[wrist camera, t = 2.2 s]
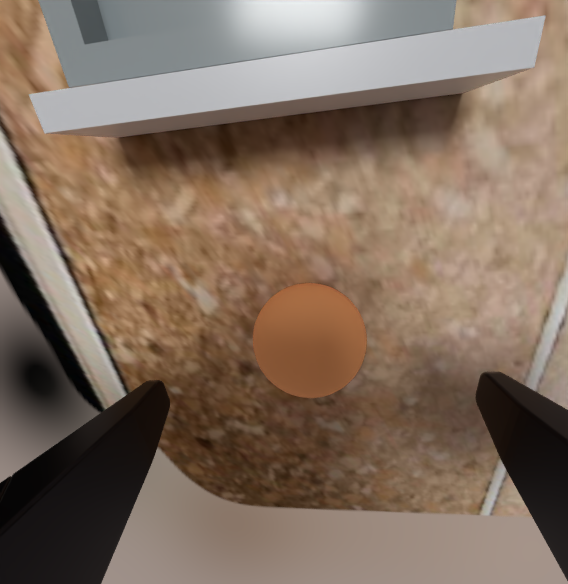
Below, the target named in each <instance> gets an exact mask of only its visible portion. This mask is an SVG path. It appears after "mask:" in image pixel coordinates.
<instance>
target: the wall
mask: <svg viewBox="0 0 568 584" xmlns="http://www.w3.org/2000/svg"><path fill="white" fill-rule="evenodd" d="M545 16H546V15H545ZM545 16H539V17H532V18H526V19H519V20H513V21H506V22H499V23H493V24H486V25H480V26H473V27H467V28H460V29H454V30H447V31H441V32H434V33H427V34H421V35H414V36H408V37H401V38H395V39H388V40H382V41H375V42H369V43H362V44H355V45H349V46H342V47H336V48H329V49H323V50H316V51H310V52H303V53H297V54H290V55H283V56H277V57H270V58H264V59H257V60H251V61H244V62H238V63H231V64H225V65H218V66H211V67H205V68H198V69H192V70H185V71H179V72H172V73H166V74H159V75H153V76H146V77H139V78H133V79H126V80H120V81H113V82H107V83H100V84H94V85H87V86H81V87H74V88H67V89H61V90H54V91H48V92H41V93H35V94H29V96H30V99H31V101H32V104H33V106H34V109H35V111H36V113H37V116H38V118H39V121H40V123H41V126H42V128H43V131H44V133H48V134H64V135H81V136H98V137H115V138H118V137H126V136H134V135H141V134H149V133H157V132H165V131H173V130H180V129H188V128H196V127H204V126H211V125H219V124H227V123H235V122H242V121H250V120H258V119H266V118H273V117H281V116H289V115H297V114H305V113H312V112H320V111H328V110H336V109H343V108H351V107H359V106H367V105H374V104H382V103H390V102H398V101H405V100H413V99H421V98H429V97H437V96H444V95H452V94H460V93H465V92H468V91H470V90H473V89H476V88H479V87H481V86H484V85H487V84H490V83H492V82H495V81H498V80H501V79H503V78H506V77H509V76H512V75H514V74H517V73H520V72H523V71H525V70H528V69H531V68H534V66H535V61H536V57H537V52H538V48H539V43H540V39H541V34H542V30H543V25H544V20H545Z"/></svg>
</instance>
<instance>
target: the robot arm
mask: <svg viewBox="0 0 568 584" xmlns="http://www.w3.org/2000/svg"><path fill="white" fill-rule="evenodd" d="M476 402H477V405H478V407H479V410H480V412H481V414H482V417H483V419H484V421H485V424H486V426H487V428H488V431H489V433H490V435H491V438H492V440H493V442H494V445H495V447H496V449H497V452H498V454H499V456H500V458H501V460H502V462H503V464H504V466H505V468H506V470H507V472H508V474H509V476H510V477H511V479H512V481H513V483H514V485H515V486H516V488H517V490H518V492H519V494H520V495H521V497H522V499H523V501H524V503H525V505H526V506H527V508H528V510H529V512H530V514H531V515H532V517H533V519H534V521H535V523H536V524H537V526H538V528H539V530H540V531H541V533H542V535H543V537H544V539H545V540H546V543H547V544H548V546H549V548H550V550H551V552H552V553H553V555H554V557H555V559H556V561H557V562H558V564H559V566H560V568H561V570H562V572H563V573H564V575H565V577H566V579H567V581H568V410H567V409H565V408H564V407H562V406H560V405H558V404H557V403H555V402H553V401H551V400H549V399H548V398H546V397H544V396H542V395H541V394H539V393H537V392H535V391H533V390H532V389H530V388H528V387H526V386H525V385H523V384H521V383H519V382H518V381H516V380H514V379H512V378H510V377H509V376H507V375H505V374H503V373H501V372H484V373H482V374H481V376H480V379H479V383H478V387H477V391H476ZM169 408H170V399H169V396H168V394H167V391H166V388H165V386H164V383H163V382H162V381H160V380H150V381H146V382H145V383H143V384H142V385H141V386H139V387H138V388H136V389H135V390H133V391H132V392H130V393H129V394H128V395H126V396H125V397H123V398H122V399H120V400H119V401H118V402H116V403H115V404H113V405H112V406H110V407H109V408H107V409H106V410H105V411H103V412H102V413H100V414H99V415H97V416H96V417H95V418H93V419H92V420H90V421H89V422H87V423H86V424H84V425H83V426H82V427H80V428H79V429H77V430H76V431H75V432H73V433H72V434H70V435H69V436H67V437H66V438H64V439H63V440H61V441H60V442H59V443H58V444H56V445H54V446H53V447H51V448H50V449H49V450H47V451H46V452H44V453H43V454H41V455H40V456H38V457H37V458H36V459H34V460H33V461H31V462H30V463H28V464H27V465H26V466H24V467H23V468H21V469H20V470H18V471H17V472H15V473H14V474H13V475H12V477H11V476H10V477H8V478H7V479H5V480H4V481H2V482H1V483H0V584H101V583H102V580H103V578H104V575H105V573H106V571H107V568H108V566H109V563H110V561H111V559H112V556H113V554H114V552H115V549H116V547H117V544H118V542H119V540H120V537H121V535H122V533H123V530H124V528H125V525H126V523H127V520H128V518H129V516H130V514H131V511H132V509H133V506H134V504H135V502H136V499H137V497H138V494H139V492H140V490H141V488H142V485H143V483H144V480H145V478H146V476H147V473H148V471H149V468H150V466H151V464H152V461H153V458H154V456H155V453H156V450H157V447H158V443H159V440H160V437H161V434H162V431H163V427H164V424H165V421H166V418H167V415H168V411H169Z"/></svg>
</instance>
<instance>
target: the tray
mask: <svg viewBox="0 0 568 584" xmlns="http://www.w3.org/2000/svg"><path fill="white" fill-rule="evenodd" d="M38 1H39V3H40V6H41V9H42V12H43V15H44V18H45V20H46V23H47V26H48V29H49V32H50V35H51V37H52V40H53V43H54V46H55V49H56V52H57V54H58V57H59V60H60V63H61V66H62V69H63V71H64V74H65V77H66V80H67V83H68V86H69V88H74V87H81V86H87V85H94V84H100V83H107V82H113V81H120V80H126V79H133V78H139V77H146V76H153V75H159V74H166V73H172V72H179V71H185V70H192V69H198V68H205V67H211V66H218V65H225V64H231V63H238V62H244V61H251V60H257V59H264V58H270V57H277V56H283V55H290V54H297V53H303V52H310V51H316V50H323V49H329V48H336V47H342V46H349V45H355V44H362V43H369V42H375V41H382V40H388V39H395V38H401V37H408V36H414V35H421V34H427V33H434V32H441V31H447V30H452V29H453V24H454V15H455V7H456V0H38Z"/></svg>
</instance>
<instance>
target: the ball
mask: <svg viewBox="0 0 568 584" xmlns="http://www.w3.org/2000/svg"><path fill="white" fill-rule="evenodd" d="M366 347H367V335H366V329H365V325H364V322H363V319H362V317H361V315H360V313H359V311H358V310H357V308H356V307H355V306H354V304H353V303H352V302H351V301H350V300H349V299H348V298H347V297H346V296H345V295H343V294H342V293H341V292H339V291H337V290H335V289H334V288H331V287H329V286H326V285H322V284H317V283H301V284H296V285H292V286H289V287H287V288H285V289H283V290H281V291H279V292H278V293H276V294H275V295H274V296H272V297H271V298H270V299H269V300H268V302H267V303H266V304H265V305H264V307H263V308H262V309H261V311H260V313H259V315H258V317H257V320H256V322H255V327H254V332H253V348H254V353H255V356H256V360H257V362H258V364H259V366H260V368H261V370H262V372H263V373H264V375H265V376H266V377H267V378H268V379H269V380H270V381H271V382H272V383H273V384H274V385H275V386H276V387H278V388H279V389H281V390H283V391H285V392H287V393H289V394H291V395H294V396H298V397H304V398H318V397H323V396H327V395H330V394H333V393H335V392H337V391H338V390H340V389H342V388H343V387H345V386H346V385H347V384H348V383H349V382H350V381H351V380H352V379H353V378H354V377H355V376H356V374H357V373H358V371H359V369H360V367H361V365H362V363H363V360H364V357H365V353H366Z"/></svg>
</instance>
